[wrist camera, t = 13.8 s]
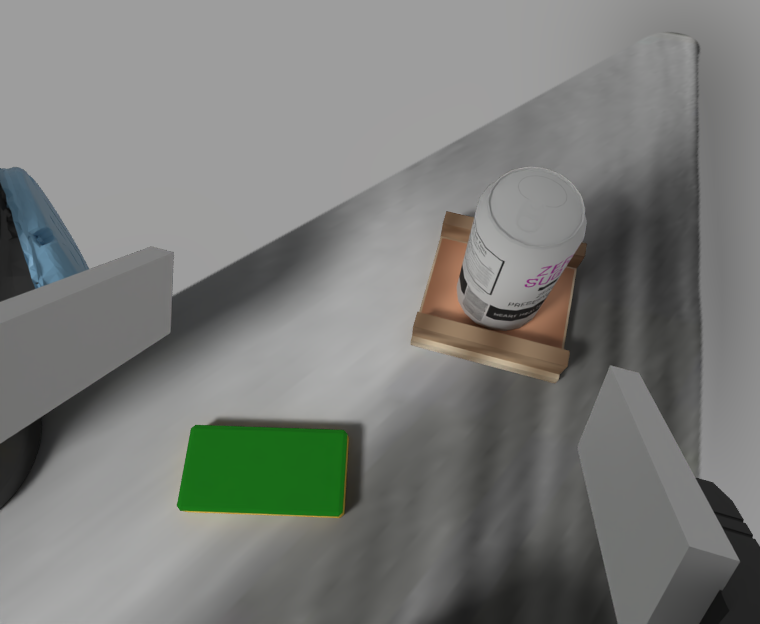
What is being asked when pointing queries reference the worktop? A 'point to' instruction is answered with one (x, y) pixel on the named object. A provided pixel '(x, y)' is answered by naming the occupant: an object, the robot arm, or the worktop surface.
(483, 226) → the supplement can
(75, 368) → the robot arm
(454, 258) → the groove board
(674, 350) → the worktop surface
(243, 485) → the dish sponge
